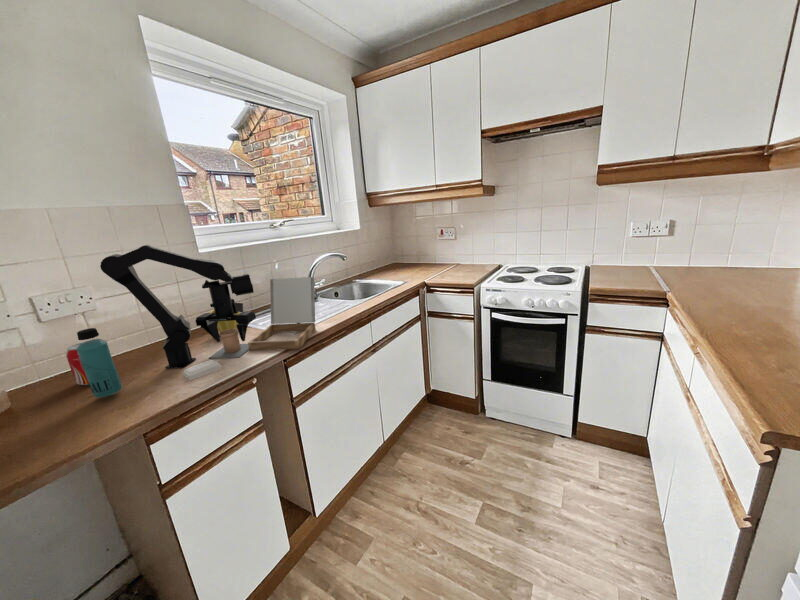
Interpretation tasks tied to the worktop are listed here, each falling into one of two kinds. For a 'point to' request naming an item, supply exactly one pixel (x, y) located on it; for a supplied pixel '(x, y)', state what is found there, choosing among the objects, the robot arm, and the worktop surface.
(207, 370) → the soap bar
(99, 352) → the beverage bottle
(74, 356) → the soda can
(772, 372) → the worktop surface
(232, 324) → the plant pot
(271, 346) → the wooden tray
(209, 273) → the robot arm
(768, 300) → the worktop surface
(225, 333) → the clay pot
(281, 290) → the lid
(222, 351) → the grey mat
